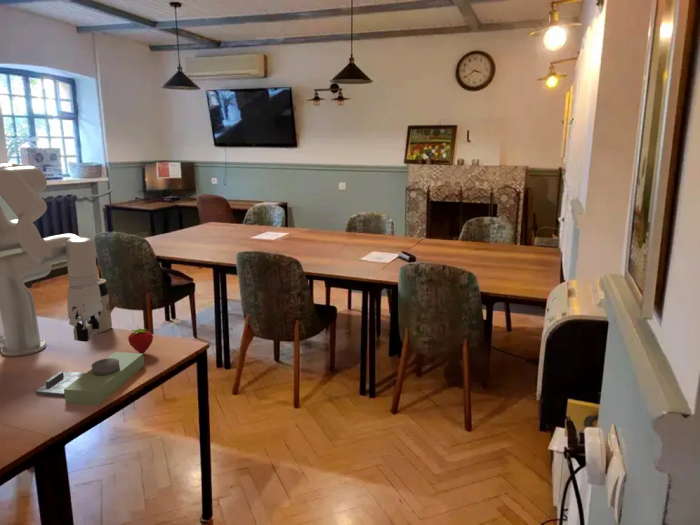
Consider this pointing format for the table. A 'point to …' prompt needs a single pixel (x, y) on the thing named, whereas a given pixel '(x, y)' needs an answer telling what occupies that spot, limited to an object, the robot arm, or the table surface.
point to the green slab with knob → (103, 378)
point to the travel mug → (104, 307)
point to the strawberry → (140, 340)
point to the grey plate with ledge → (58, 384)
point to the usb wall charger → (90, 331)
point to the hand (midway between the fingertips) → (88, 336)
